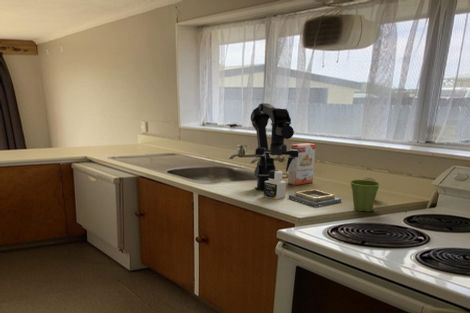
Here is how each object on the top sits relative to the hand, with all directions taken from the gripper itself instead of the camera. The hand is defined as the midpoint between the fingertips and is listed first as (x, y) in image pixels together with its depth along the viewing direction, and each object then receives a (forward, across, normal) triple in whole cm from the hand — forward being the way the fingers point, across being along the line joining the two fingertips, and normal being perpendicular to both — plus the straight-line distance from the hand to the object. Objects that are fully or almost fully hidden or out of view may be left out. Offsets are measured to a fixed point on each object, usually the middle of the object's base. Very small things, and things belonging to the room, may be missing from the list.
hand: (276, 171), depth 173 cm
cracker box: (+12, +12, +34) cm, 38 cm away
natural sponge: (+12, +41, +8) cm, 43 cm away
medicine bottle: (+12, 0, 0) cm, 12 cm away
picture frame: (+12, +18, -1) cm, 21 cm away
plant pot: (+12, +37, -10) cm, 40 cm away
